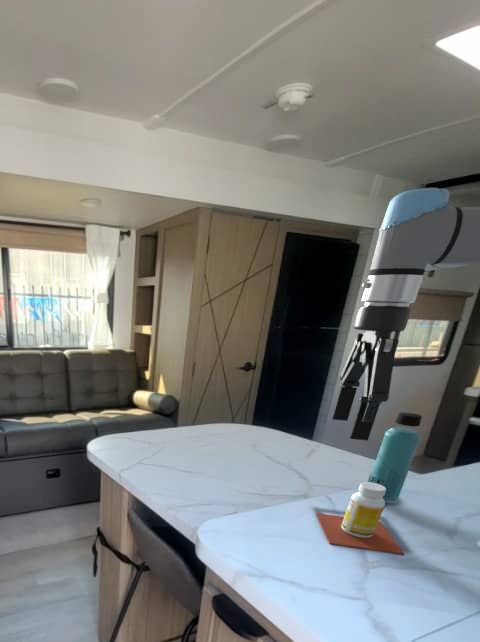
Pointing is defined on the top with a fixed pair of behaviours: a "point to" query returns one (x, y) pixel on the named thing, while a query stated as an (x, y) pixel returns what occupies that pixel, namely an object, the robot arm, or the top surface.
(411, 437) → the beverage bottle
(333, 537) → the cloth
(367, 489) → the supplement bottle
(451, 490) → the top surface
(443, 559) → the top surface
